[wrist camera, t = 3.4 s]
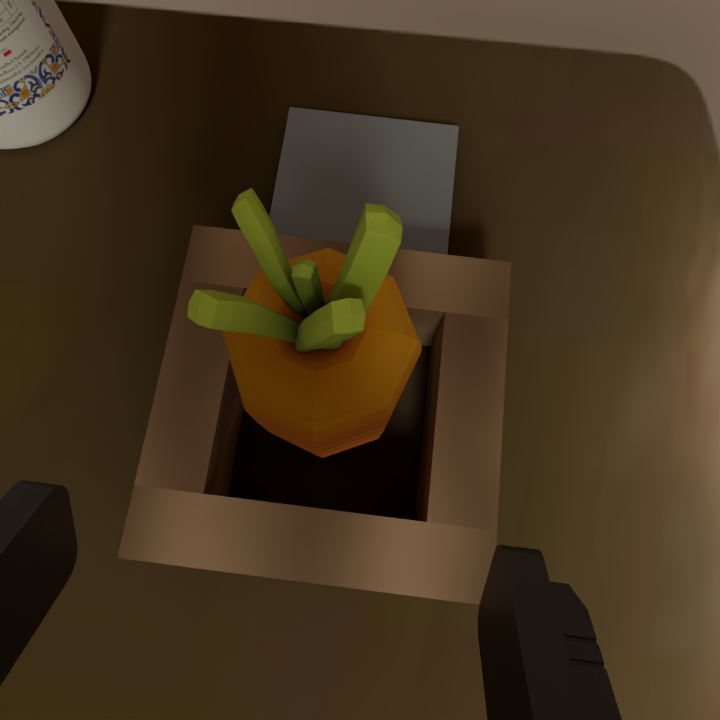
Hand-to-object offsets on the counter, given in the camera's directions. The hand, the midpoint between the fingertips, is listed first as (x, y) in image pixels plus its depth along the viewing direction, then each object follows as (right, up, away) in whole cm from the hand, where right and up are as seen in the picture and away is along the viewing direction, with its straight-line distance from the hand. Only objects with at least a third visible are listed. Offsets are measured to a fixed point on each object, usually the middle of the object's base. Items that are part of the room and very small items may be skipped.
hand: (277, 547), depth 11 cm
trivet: (+2, +11, +16) cm, 20 cm away
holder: (0, +1, +13) cm, 13 cm away
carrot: (0, +1, +13) cm, 13 cm away
